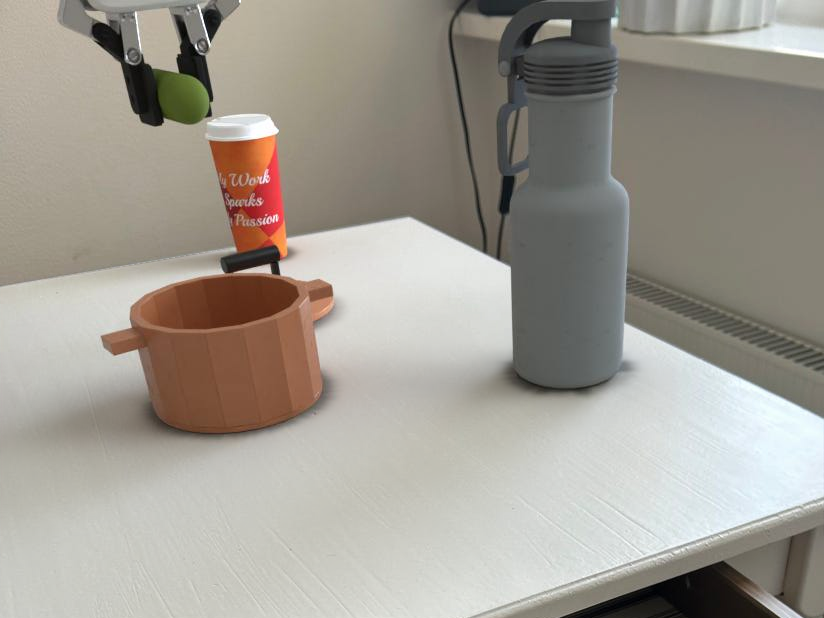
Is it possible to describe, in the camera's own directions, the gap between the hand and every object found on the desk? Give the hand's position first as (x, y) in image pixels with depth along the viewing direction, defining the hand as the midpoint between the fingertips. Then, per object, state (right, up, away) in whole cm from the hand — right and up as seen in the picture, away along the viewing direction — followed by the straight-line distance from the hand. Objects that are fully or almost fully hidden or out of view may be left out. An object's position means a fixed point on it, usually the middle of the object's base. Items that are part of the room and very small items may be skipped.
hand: (176, 117), depth 74 cm
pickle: (0, 0, 0) cm, 0 cm away
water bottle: (+31, -15, +15) cm, 37 cm away
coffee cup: (-4, +8, +47) cm, 47 cm away
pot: (+2, -18, +13) cm, 22 cm away
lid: (0, -5, +29) cm, 30 cm away
